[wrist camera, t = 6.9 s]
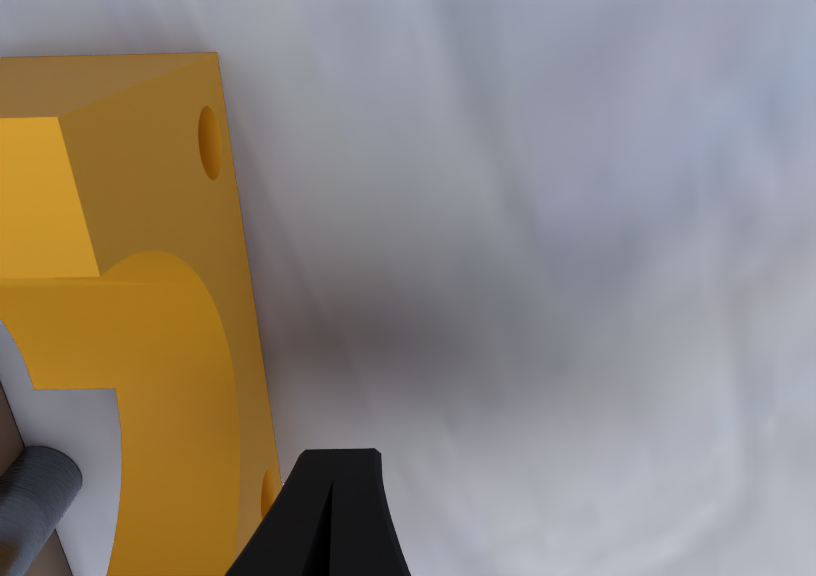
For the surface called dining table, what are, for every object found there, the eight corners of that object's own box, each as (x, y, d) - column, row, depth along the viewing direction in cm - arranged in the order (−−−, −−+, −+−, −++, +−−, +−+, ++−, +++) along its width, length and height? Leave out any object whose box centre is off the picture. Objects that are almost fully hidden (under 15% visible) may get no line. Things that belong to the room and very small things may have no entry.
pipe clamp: (5, 56, 13) (-332, 125, 7) (219, 51, 13) (57, 117, 7) (135, 497, 18) (5, 743, 12) (285, 495, 18) (225, 742, 12)
